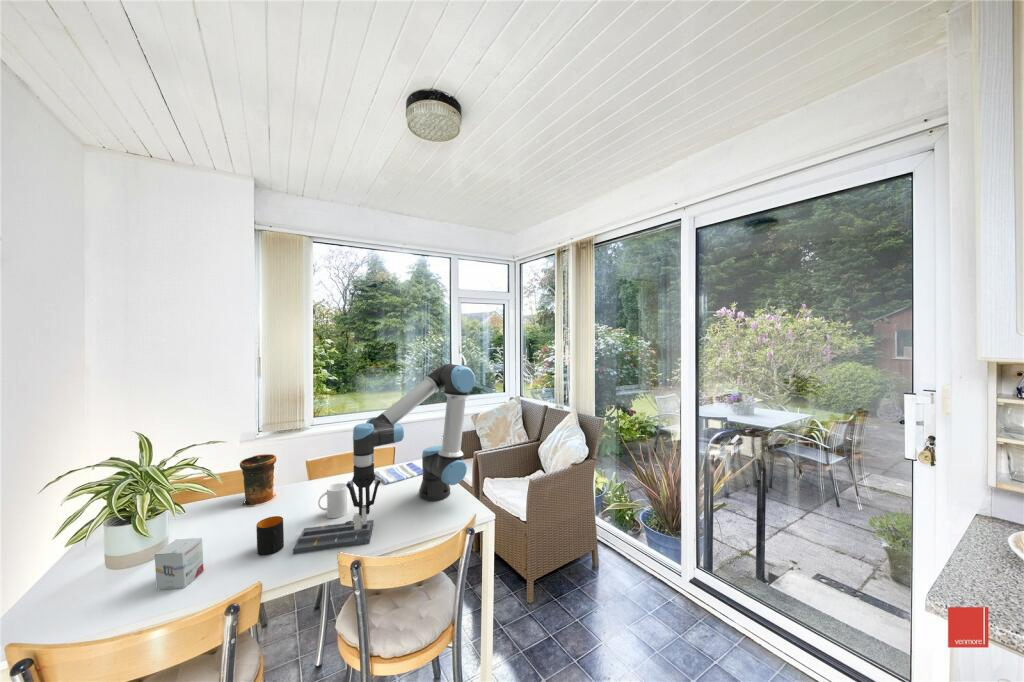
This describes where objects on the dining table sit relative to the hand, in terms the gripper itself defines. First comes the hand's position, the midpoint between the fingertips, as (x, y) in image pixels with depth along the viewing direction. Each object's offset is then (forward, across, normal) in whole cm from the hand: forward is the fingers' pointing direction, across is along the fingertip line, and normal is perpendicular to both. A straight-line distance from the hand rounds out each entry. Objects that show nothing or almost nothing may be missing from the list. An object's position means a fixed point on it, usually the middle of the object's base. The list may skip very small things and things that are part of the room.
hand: (364, 522), depth 145 cm
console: (+5, +10, 0) cm, 12 cm away
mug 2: (+5, +15, -20) cm, 26 cm away
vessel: (+5, +52, -43) cm, 68 cm away
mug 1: (+5, +32, +3) cm, 32 cm away
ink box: (+6, +54, +13) cm, 56 cm away
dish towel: (+6, -11, -58) cm, 59 cm away
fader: (+3, +2, 0) cm, 4 cm away
